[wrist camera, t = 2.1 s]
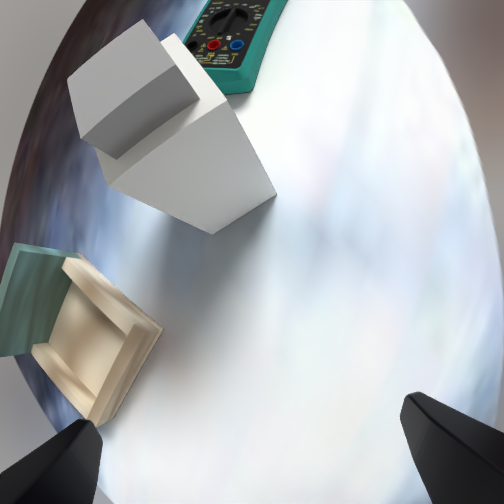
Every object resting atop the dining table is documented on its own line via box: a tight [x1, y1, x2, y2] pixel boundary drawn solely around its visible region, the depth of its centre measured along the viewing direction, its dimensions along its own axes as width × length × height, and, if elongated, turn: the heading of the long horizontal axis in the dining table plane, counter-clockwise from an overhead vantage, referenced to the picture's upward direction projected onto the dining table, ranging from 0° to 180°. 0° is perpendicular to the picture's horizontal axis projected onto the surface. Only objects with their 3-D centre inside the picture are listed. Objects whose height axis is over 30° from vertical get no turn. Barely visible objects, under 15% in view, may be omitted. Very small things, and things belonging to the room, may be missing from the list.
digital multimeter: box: [182, 0, 287, 95], centre depth 21 cm, size 7×15×3 cm, turn 163°
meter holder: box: [0, 243, 163, 428], centre depth 18 cm, size 10×10×7 cm
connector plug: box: [67, 19, 277, 235], centre depth 14 cm, size 5×5×13 cm
